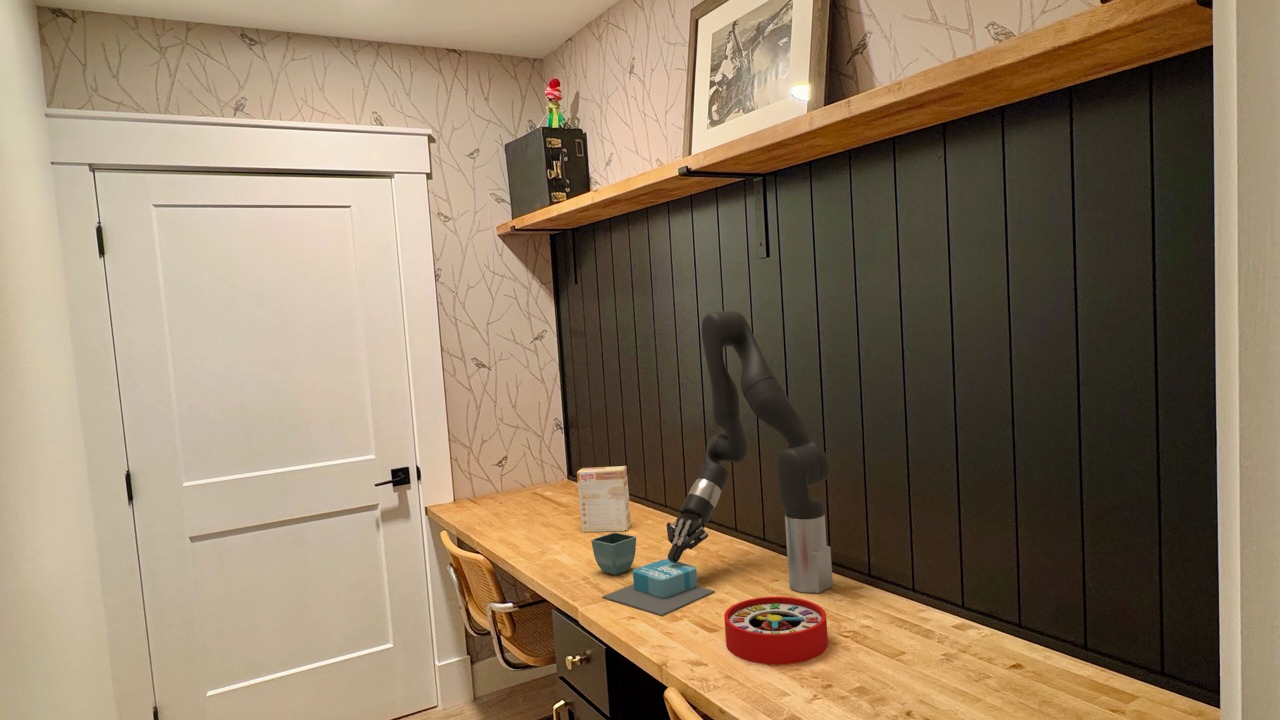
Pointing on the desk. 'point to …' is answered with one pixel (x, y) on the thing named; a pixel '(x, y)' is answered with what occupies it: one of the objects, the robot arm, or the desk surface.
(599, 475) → the coffeecake box
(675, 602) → the mat
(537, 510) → the desk surface
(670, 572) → the data package
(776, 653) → the toy clock
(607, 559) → the flower pot
